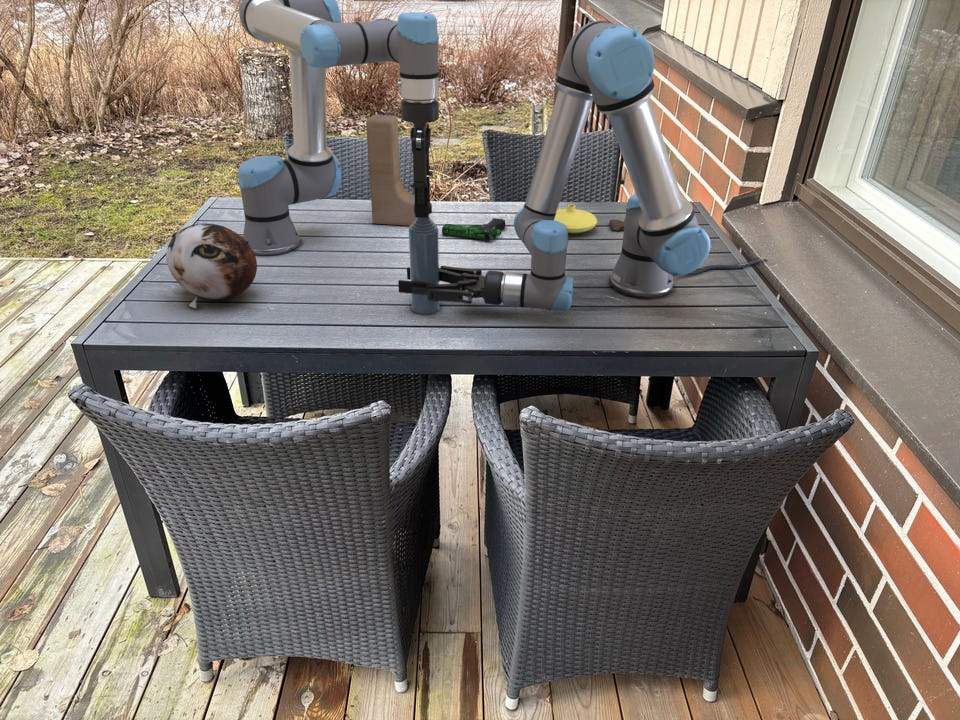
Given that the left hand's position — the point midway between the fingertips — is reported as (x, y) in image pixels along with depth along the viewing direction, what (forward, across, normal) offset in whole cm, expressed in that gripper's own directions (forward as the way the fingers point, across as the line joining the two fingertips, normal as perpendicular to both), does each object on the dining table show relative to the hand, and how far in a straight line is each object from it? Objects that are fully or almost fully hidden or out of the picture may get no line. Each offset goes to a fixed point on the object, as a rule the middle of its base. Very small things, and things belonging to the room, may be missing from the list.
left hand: (422, 211), depth 154 cm
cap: (-1, 0, 0) cm, 1 cm away
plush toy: (+23, -5, -49) cm, 55 cm away
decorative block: (+23, -57, -12) cm, 63 cm away
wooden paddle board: (+23, -54, +64) cm, 87 cm away
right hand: (+17, -1, -5) cm, 17 cm away
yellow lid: (+23, -53, +39) cm, 69 cm away
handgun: (+23, -49, +12) cm, 55 cm away
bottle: (+23, 0, 0) cm, 23 cm away
